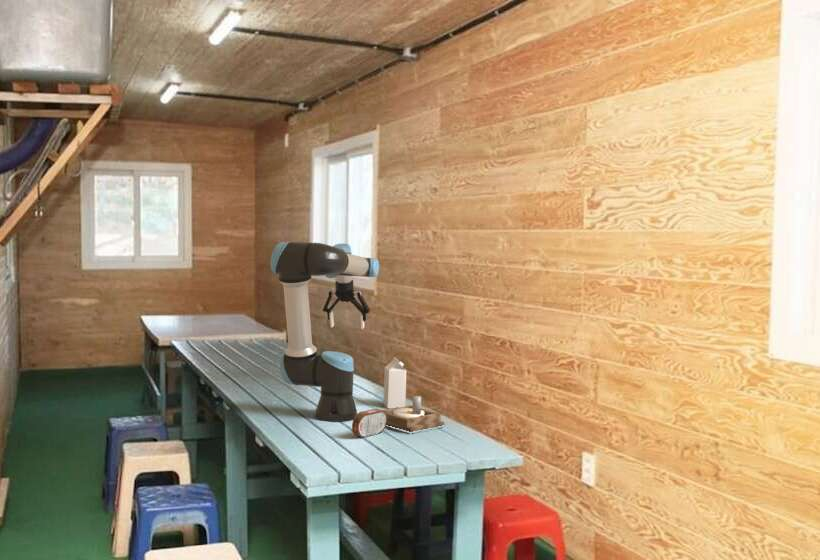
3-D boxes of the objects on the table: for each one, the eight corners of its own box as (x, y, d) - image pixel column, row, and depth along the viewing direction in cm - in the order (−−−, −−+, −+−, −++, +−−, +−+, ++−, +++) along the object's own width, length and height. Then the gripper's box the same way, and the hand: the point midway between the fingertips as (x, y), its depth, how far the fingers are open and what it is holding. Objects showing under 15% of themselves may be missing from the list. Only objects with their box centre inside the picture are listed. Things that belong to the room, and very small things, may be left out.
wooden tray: (410, 434, 257) (411, 420, 257) (373, 422, 272) (373, 409, 272) (444, 427, 268) (444, 414, 268) (406, 416, 283) (406, 403, 282)
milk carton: (387, 408, 294) (389, 360, 293) (383, 404, 301) (384, 357, 300) (405, 408, 296) (407, 359, 295) (400, 404, 303) (402, 357, 302)
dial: (386, 417, 270) (387, 393, 270) (409, 413, 278) (410, 390, 277) (407, 423, 262) (408, 399, 262) (430, 419, 269) (431, 395, 269)
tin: (381, 430, 261) (382, 406, 261) (388, 432, 259) (389, 407, 259) (350, 438, 250) (351, 413, 249) (357, 440, 248) (358, 414, 247)
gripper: (375, 278, 319) (378, 324, 326) (318, 276, 324) (322, 322, 331) (370, 284, 312) (373, 331, 319) (312, 282, 318) (317, 329, 325)
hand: (347, 327), depth 325 cm, fingers open, 13 cm apart
